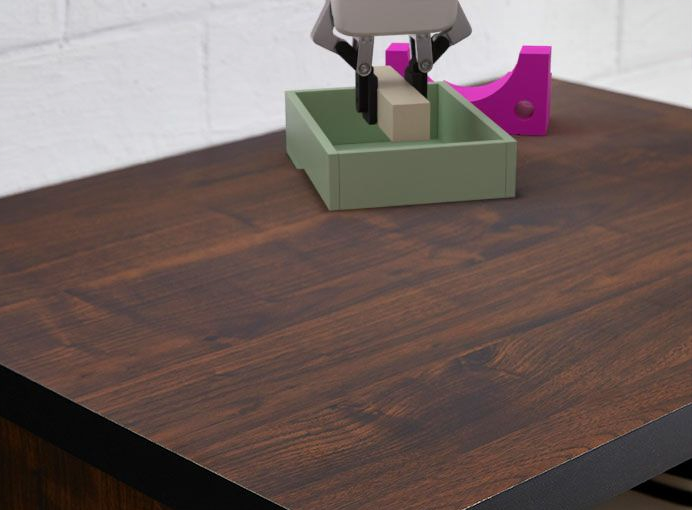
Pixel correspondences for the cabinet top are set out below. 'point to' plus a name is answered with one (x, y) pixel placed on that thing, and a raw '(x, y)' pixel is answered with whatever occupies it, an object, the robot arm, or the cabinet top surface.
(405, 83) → the long cream beam
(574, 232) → the cabinet top surface
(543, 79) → the toy block
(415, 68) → the robot arm
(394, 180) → the bin
